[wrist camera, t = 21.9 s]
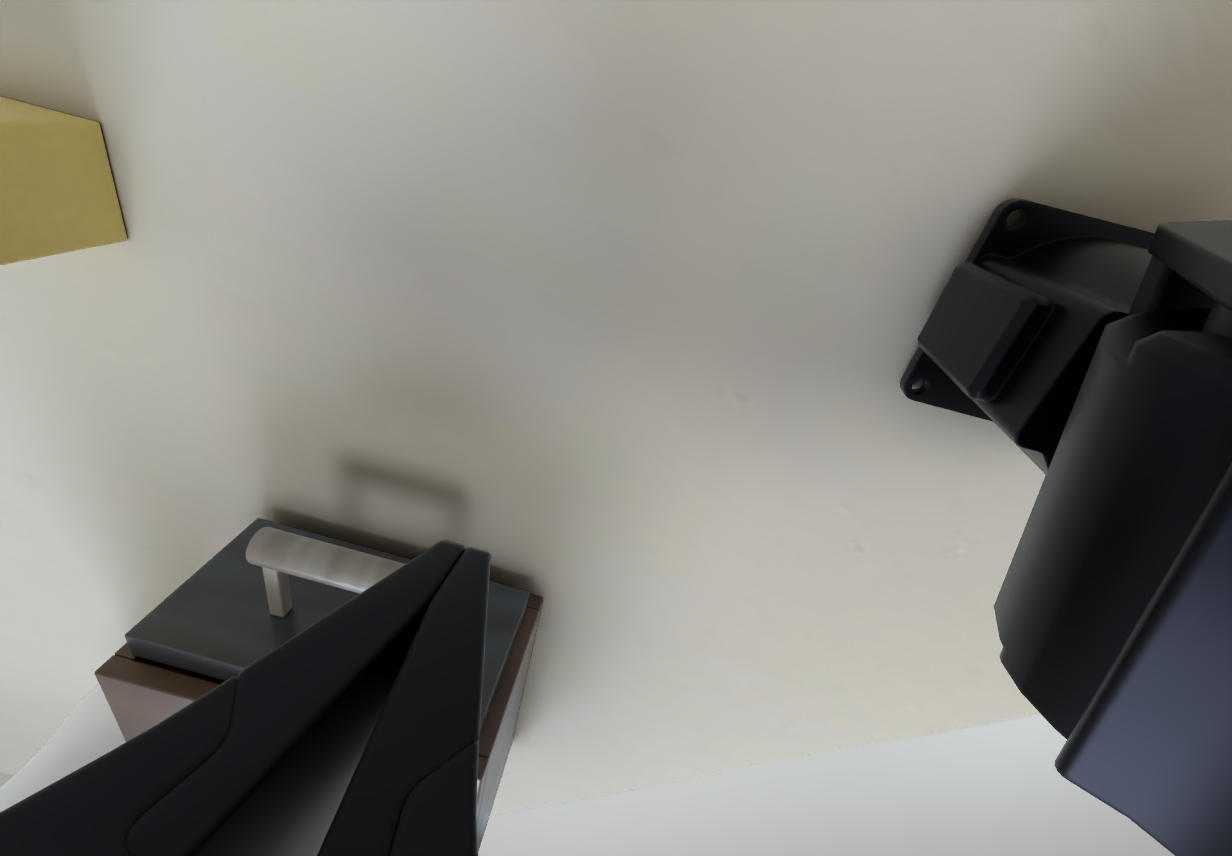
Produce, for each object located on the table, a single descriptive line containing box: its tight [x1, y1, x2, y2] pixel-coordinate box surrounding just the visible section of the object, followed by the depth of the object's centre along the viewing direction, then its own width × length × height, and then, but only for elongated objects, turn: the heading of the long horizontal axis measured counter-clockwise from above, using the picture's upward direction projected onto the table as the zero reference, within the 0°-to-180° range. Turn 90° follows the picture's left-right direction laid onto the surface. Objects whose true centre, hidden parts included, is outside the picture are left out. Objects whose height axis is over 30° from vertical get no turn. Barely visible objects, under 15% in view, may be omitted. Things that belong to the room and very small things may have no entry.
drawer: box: [125, 518, 530, 738], centre depth 24 cm, size 17×13×7 cm
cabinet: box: [95, 595, 543, 851], centre depth 26 cm, size 14×15×9 cm
